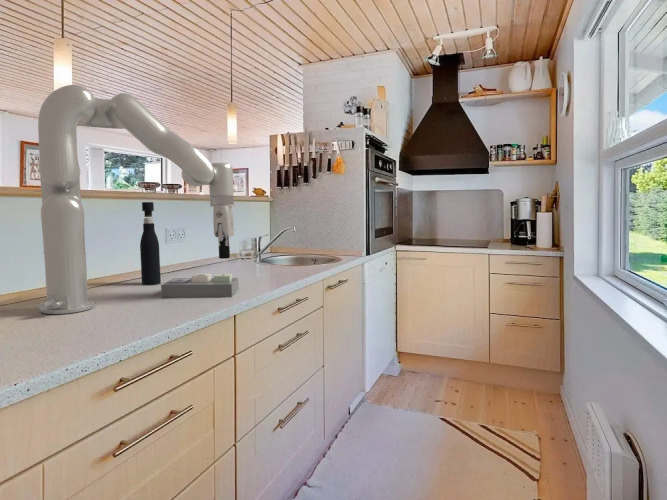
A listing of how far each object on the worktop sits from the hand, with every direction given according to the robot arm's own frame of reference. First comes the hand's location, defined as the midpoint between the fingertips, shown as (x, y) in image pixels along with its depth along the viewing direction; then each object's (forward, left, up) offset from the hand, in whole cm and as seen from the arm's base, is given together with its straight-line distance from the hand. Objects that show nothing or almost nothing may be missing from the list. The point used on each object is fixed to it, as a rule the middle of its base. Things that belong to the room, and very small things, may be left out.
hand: (224, 258), depth 139 cm
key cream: (0, +8, -9) cm, 11 cm away
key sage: (0, 0, -9) cm, 9 cm away
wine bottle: (+19, +31, -12) cm, 38 cm away
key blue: (0, +15, -10) cm, 18 cm away
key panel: (0, +8, -12) cm, 14 cm away
